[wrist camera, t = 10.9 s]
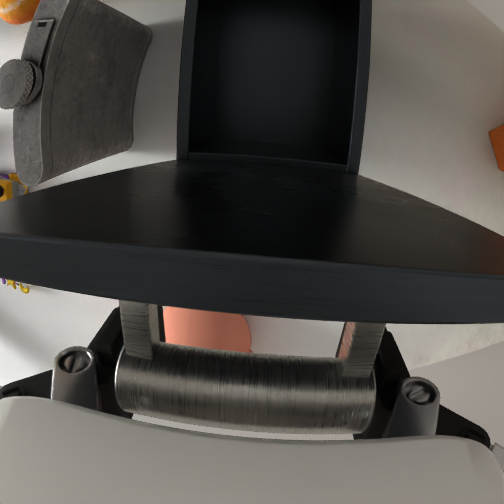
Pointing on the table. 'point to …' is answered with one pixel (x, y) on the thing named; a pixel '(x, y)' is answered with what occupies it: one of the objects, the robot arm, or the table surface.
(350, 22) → the bin
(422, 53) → the table surface
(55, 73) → the flask
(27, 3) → the fruit
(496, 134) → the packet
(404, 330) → the table surface
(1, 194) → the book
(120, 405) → the bin lid
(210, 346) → the teapot
